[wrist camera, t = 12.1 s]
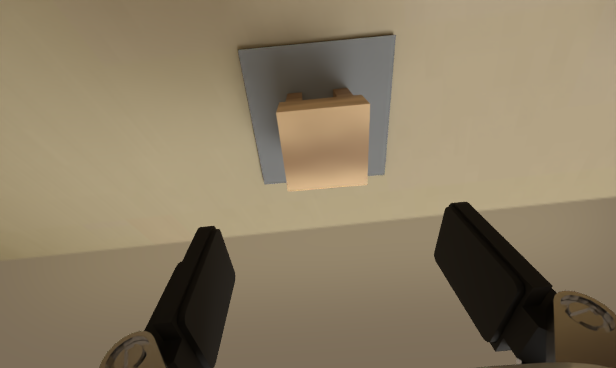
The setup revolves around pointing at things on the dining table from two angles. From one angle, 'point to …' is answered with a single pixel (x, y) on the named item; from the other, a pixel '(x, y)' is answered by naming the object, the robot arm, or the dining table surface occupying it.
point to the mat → (318, 89)
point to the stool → (324, 140)
